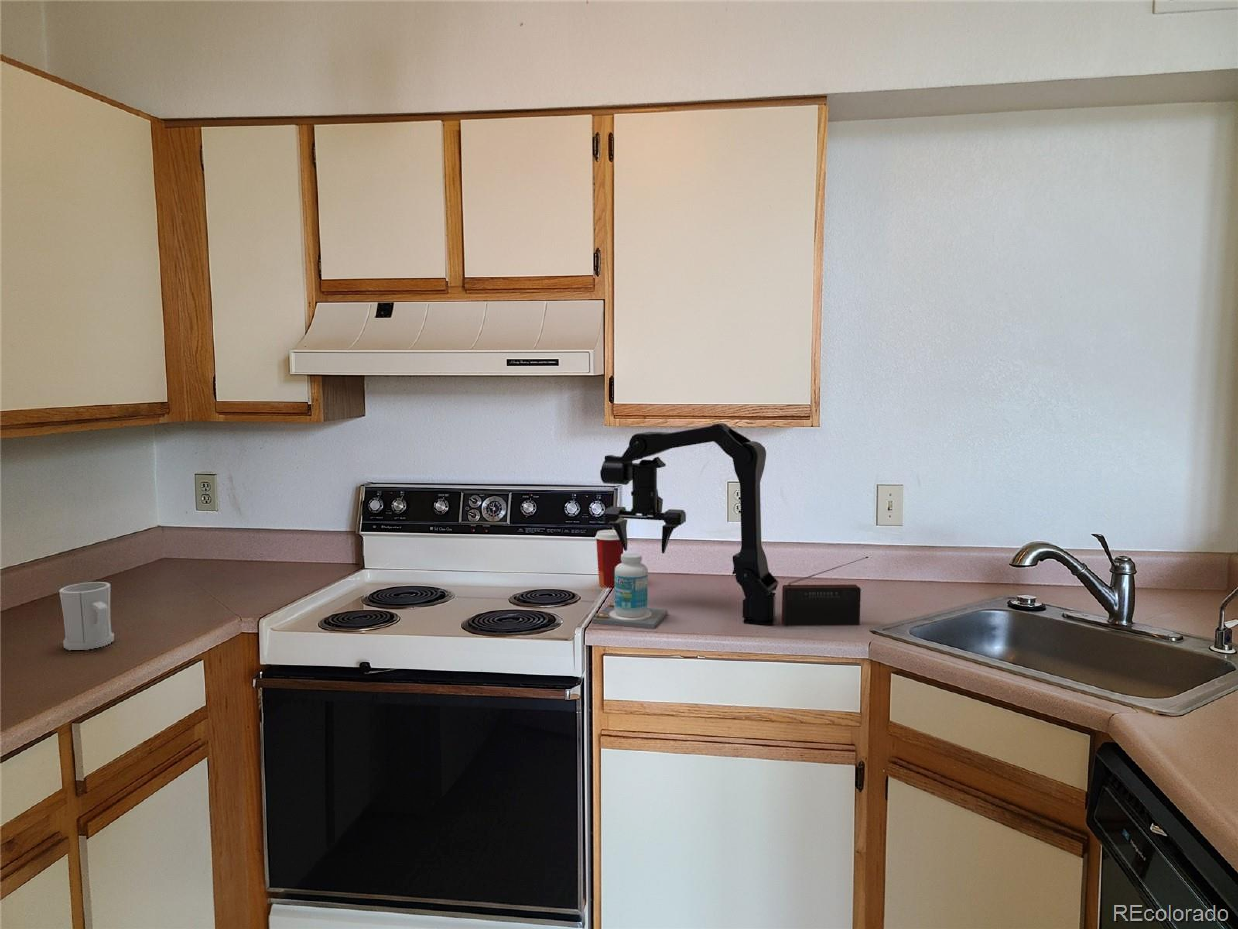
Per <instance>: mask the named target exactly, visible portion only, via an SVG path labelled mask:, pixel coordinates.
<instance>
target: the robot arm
mask: <svg viewBox="0 0 1238 929" xmlns="http://www.w3.org/2000/svg"><path fill="white" fill-rule="evenodd" d="M705 443H715V444H716V445H717V446H719V448H720V449H721V450H722V451H723V452H724V453H725V454H726V455H727V456H729V457H730V458H732V463H733V467H734V469H733V470H734V473H735V475H736V477H737V480H738V482H739V494H740V495H739V497H740V498H739V499H740V503H739V504H740V535H741V536H740V538H741V539H740V544H741V546H740V551H739V552H737V553H735V554H734V555H733V556H732V564H733V571H732V575H734V576H735V581H736V583H737V584H738V585H740V586H741V590H742V592H743V595H744V598H743V599H742V619H743V623H744V624H753V625H754V624H756V625H765V626H766V625H767V626H773V625H774V624H775V621H776V619H777V614H776V592H775V591H776V590H777V587H778V586H779V581H778V579H776V578H775V576H774V575H773V574H772V573H771V572H770V570H769V565H768V559H767V556H766V553H765V550H764V548H763V546H762V511H761V507H762V506H761V481H762V477H763V474H764V471H765V465H766V458H767V451H766V448H765V446H763V444H762V443H761V442H758V441H755V440H753V441H752V440H750V439H749V438H748V437H746V436H744V435H743V434H741V433H740V432H738V431H736V430H734V429H733V428H731V427H730V426H729V425H727V423H725V422H719V423H714V424H712V425H709V426H708V425H707V426H702V427H701V426H700V427H696V428H691V429H685V430H679V431H674V432H672V431H671V432H668V431H667V432H665V431H645V432H639V433H635V434H633V435H632V436H631V438H630V439H629V441H628V447H627V448H626V450H625V451H624V453H623V454H622V455H621V456H619V455H618V456H616V455H614V454H607V455H605V456H604V461H603V462H602V465H601V468H600V471H599V472H600V474H599V476H600V480H601V482H602V483H603V484H608V485H623V486H627V485H629V483H630V482H632V486H631V487H632V488H631V489H632V490H631V491H630V496H631V497H632V498H631V500H632V502H631V503H632V508H630V510H627V509H626V506H616V505H614V506H609V507H607V508H605V510H604V511H603V516H602V518H603V519H602V520H603V521H604V522H608V525H609V526H612V527H613V530H615V531H616V533H617V535H618V537H619V539H620V542H621V544H622V546H623V552H624V551H625V552H627V551H628V534H627V533H628V532H627V525H628V520H629V519H631V520H649V521H663V522H664V523H665V524H663V525H662V528H661V554H665V553H666V550H667V547H668V543H669V540H670V537H671V536H672V533H673V531H674V530H675V529H676V528H678V527H679V526H682V525H683V524H684V523H686V522H687V514H686V511H685V510H684V509H671V508H670V509H667V510H666V511H664V512H663V503H664V502H663V501H664V499H663V498H662V497H661V496H660V495H659V491H658V484H657V483H658V469H661V468H664V467H666V466H667V465H666V463H665V462H664V461H663V460H662V459H661V458H660V457H659V456H655V455H659V454H661V453H664V452H666V451H669V450H671V449H672V450H673V449H675V448H681V447H688V446H693V445H698V444H705ZM652 456H655V457H653V459H644V458H648V457H652ZM639 460H640V461H639ZM634 461H639V462H638V463H636V462H634ZM638 514H639V515H638ZM603 521H602V522H603Z"/></svg>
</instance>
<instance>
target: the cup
mask: <svg viewBox="0 0 1238 929" xmlns="http://www.w3.org/2000/svg"><path fill="white" fill-rule="evenodd" d="M59 597H60V602H61V609H62V616H63V622H64V624H63V625H64V634H65V638H64V639H63V641H62V643H63V644H62V645H63V648H64V649H66V650H68V651H71V650H85V651H90V650H89V649H92V650H95V649H94V648H97V649H100V648H99V647H101V648H104V647H107V646H109V645H111V642H112V643H113V642H114V641H115V635H114V632H112V627H111V626H112V624H111V584H110V583H109V582H102V581H92V582H91V581H90V582H81V583H75V584H70V585H66V586H64V587H62V588H60V589H59ZM108 644H109V645H108ZM106 645H107V646H106ZM103 646H104V647H103Z"/></svg>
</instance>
